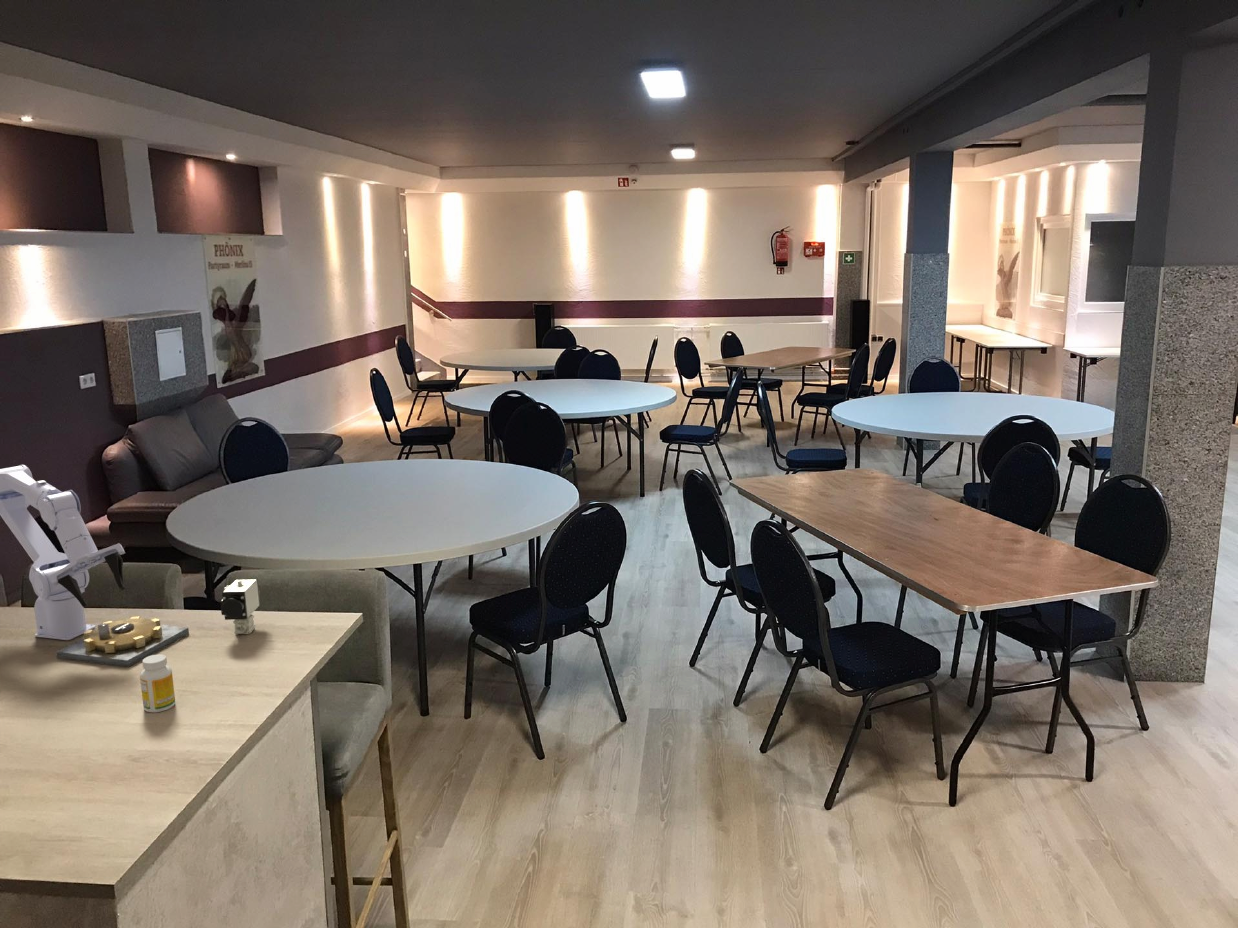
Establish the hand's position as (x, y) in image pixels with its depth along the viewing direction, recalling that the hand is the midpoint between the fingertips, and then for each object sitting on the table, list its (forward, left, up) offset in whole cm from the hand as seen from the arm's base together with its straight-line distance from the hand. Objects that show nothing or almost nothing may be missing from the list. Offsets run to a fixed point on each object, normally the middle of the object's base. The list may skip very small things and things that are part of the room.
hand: (104, 597), depth 202 cm
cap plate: (0, +3, -12) cm, 13 cm away
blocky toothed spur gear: (0, +3, -10) cm, 11 cm away
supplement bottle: (+28, -19, -12) cm, 36 cm away
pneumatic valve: (+20, +16, -12) cm, 29 cm away
